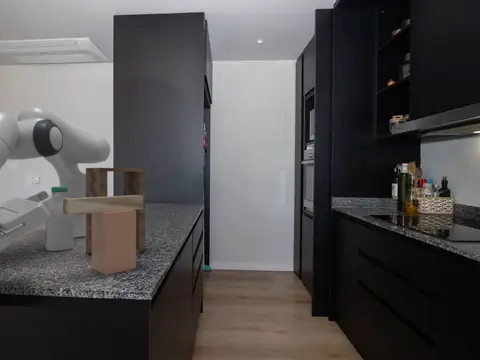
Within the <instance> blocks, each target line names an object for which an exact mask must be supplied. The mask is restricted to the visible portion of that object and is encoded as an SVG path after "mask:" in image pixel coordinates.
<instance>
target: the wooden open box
mask: <svg viewBox="0 0 480 360" xmlns="http://www.w3.org/2000/svg"><path fill="white" fill-rule="evenodd" d="M108 172H123V173H122V174H123V175H122V176H123V180H122V181H123V184H122V186H123V188H122V189H123V193H122V196H129V195H140V196H143V209H135V210H136V255H138V254H141V253H142V254H143V253H146V168H141V167H140V168H136V167H133V168H131V167H85V174H86V198H89V197H109V196H108ZM85 255H87V256H89V257H91V258H92V213H86V236H85Z"/></svg>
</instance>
